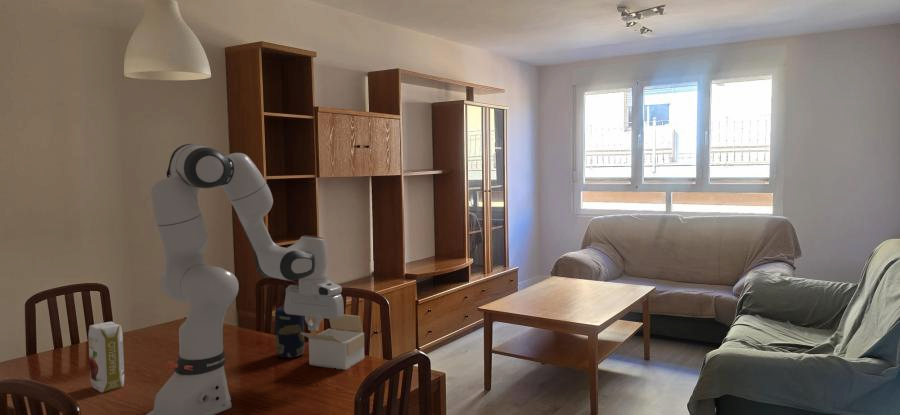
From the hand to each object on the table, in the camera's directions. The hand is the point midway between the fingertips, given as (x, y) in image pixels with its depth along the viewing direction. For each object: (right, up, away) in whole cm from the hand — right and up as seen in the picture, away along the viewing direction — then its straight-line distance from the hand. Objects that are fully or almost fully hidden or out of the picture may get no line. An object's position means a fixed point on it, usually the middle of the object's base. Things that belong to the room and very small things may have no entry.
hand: (313, 330), depth 183 cm
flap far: (+7, -1, +17) cm, 18 cm away
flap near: (+2, -3, +4) cm, 5 cm away
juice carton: (-60, -15, -9) cm, 62 cm away
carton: (+5, -13, +13) cm, 19 cm away
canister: (-13, -13, +20) cm, 27 cm away
